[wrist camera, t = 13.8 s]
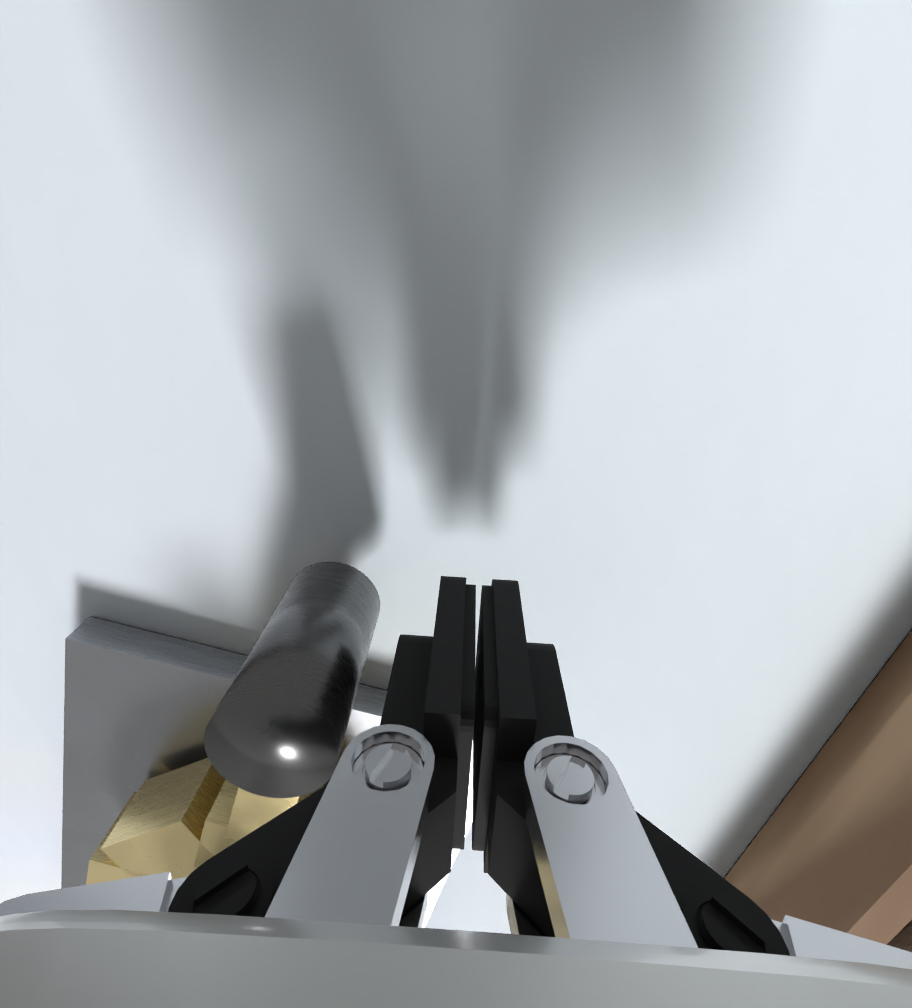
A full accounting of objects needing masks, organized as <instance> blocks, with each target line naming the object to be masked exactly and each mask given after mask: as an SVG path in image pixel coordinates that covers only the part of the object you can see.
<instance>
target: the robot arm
mask: <svg viewBox="0 0 912 1008" xmlns="http://www.w3.org/2000/svg"><path fill="white" fill-rule="evenodd" d="M475 605H476V585H467V584H466V578H463V577H447V576H441V581H440V589H439V597H438V605H437V613H436V621H435V629H434V637H431V636H415V635H400V636H399V640H398V644H397V649H396V654H395V658H394V663H393V667H392V672H391V676H390V681H389V685H388V690H387V695H386V699H385V704H384V708H383V713H382V717H381V722H380V726H375V727H372V728H370V729H368V730H365V731H363V732H361V733H360V734H359V735H357V736H356V737H355V738H354V739H352V740H351V741H350V743H349V744H348V746H347V747H346V749H345V750H344V752H343V754H342V756H341V758H340V760H339V762H338V764H337V766H336V768H335V771H334V773H333V775H332V777H331V779H330V781H329V783H328V784H327V785H325V786H324V787H322V788H321V789H319V790H318V791H316V792H314V793H313V794H311V795H310V796H308V797H306V798H305V799H303V800H302V801H300V802H299V803H297V804H295V805H294V806H292V807H291V808H289V809H287V810H286V811H284V812H283V813H281V814H280V815H278V816H276V817H275V818H273V819H272V820H270V821H268V822H267V823H265V824H264V825H262V826H260V827H259V828H257V829H256V830H254V831H253V832H251V833H249V834H248V835H246V836H245V837H243V838H241V839H240V840H238V841H237V842H235V843H234V844H232V845H230V846H229V847H227V848H226V849H224V850H222V851H221V852H219V853H218V854H216V855H215V856H213V857H211V858H210V859H208V860H207V861H205V862H204V863H203V864H202V865H200V866H199V867H198V868H197V869H195V870H194V871H193V872H192V873H191V874H190V875H189V876H188V877H184V878H178V879H172V878H171V873H170V872H164V873H158V874H152V875H145V876H139V877H133V878H126V879H120V880H114V881H108V882H101V883H95V884H89V885H82V886H76V887H70V888H63V889H57V890H51V891H45V892H38V893H32V894H26V895H23V896H20V897H17V898H13V899H10V900H7V901H4V902H3V903H1V904H0V1008H912V952H909V951H906V950H902V949H899V948H896V947H892V946H889V945H885V944H882V943H879V942H875V941H872V940H869V939H865V938H862V937H858V936H855V935H852V934H848V933H845V932H842V931H838V930H835V929H831V928H828V927H825V926H821V925H818V924H815V923H811V922H808V921H804V920H801V919H798V918H794V917H791V916H788V915H785V917H784V920H783V922H778V921H775V920H772V919H770V918H769V916H768V915H767V914H766V913H765V912H764V911H763V910H762V909H761V908H760V907H759V906H758V905H757V904H756V903H755V902H753V901H752V900H751V899H750V898H749V897H748V896H746V895H745V894H744V893H742V892H741V891H740V890H738V889H737V888H736V887H735V886H733V885H732V884H731V883H729V882H728V881H727V880H725V879H724V878H723V877H721V876H720V875H719V874H718V873H716V872H715V871H714V870H712V869H711V868H710V867H708V866H707V865H706V864H704V863H703V862H702V861H700V860H699V859H698V858H697V857H695V856H694V855H693V854H691V853H690V852H689V851H687V850H686V849H685V848H683V847H682V846H681V845H679V844H678V843H677V842H676V841H674V840H673V839H672V838H670V837H669V836H668V835H666V834H665V833H664V832H662V831H661V830H660V829H659V828H657V827H656V826H655V825H653V824H652V823H651V822H649V821H648V820H647V819H645V818H644V817H643V816H641V815H640V814H639V813H638V812H636V811H635V810H634V807H633V805H632V803H631V801H630V799H629V797H628V794H627V792H626V790H625V788H624V786H623V784H622V781H621V779H620V777H619V775H618V773H617V771H616V769H615V767H614V765H613V764H612V762H611V761H610V759H609V758H608V757H607V756H606V755H605V754H604V753H603V752H602V751H601V750H600V749H598V748H597V747H595V746H594V745H592V744H590V743H588V742H587V741H585V740H581V739H578V738H575V737H574V734H573V730H572V725H571V720H570V716H569V711H568V706H567V702H566V697H565V692H564V687H563V683H562V678H561V673H560V669H559V664H558V659H557V654H556V650H555V647H554V645H553V644H541V643H526V635H525V628H524V621H523V613H522V606H521V599H520V591H519V584H518V581H511V580H495V579H493V580H492V585H491V586H484V585H482V592H481V605H480V617H479V630H478V642H477V655H476V667H475ZM472 744H473V792H472V850H479V851H484V873H488V874H489V875H490V876H491V877H492V879H493V880H494V881H495V882H496V883H497V884H498V885H499V886H500V887H501V888H502V889H503V890H504V891H505V892H506V893H507V895H506V903H507V914H508V920H509V925H510V930H511V934H502V933H488V932H474V931H459V930H445V929H431V928H422V926H423V922H424V917H425V913H426V908H427V902H428V891H430V890H431V889H432V888H433V887H434V886H435V885H436V884H437V883H438V882H440V881H441V880H442V879H443V878H444V877H445V876H446V875H447V874H449V873H450V872H451V860H452V849H463V850H464V841H465V829H466V817H467V805H468V793H469V780H470V768H471V756H472Z"/></svg>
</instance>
